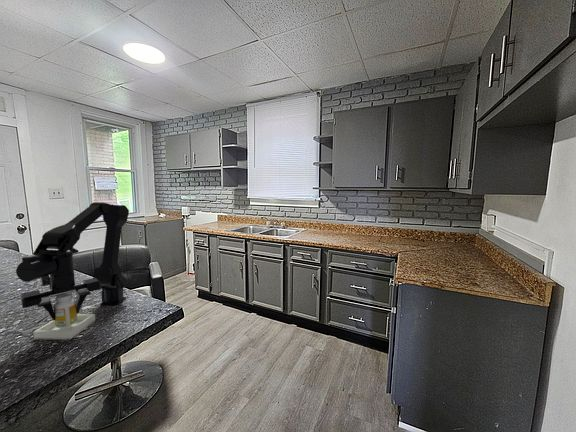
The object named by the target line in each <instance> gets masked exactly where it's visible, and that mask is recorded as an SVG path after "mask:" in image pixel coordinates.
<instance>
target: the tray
mask: <svg viewBox="0 0 576 432" xmlns="http://www.w3.org/2000/svg"><path fill="white" fill-rule="evenodd" d="M95 322H96V314H95V313H78V314H77V322H76V323H75V324H73V325H71V326H68V327H65V328H57V327H56V326H55V320H54V321H53V320H51V321H49V322H48V323H46V324H44V325H42V326H41V327H38V329H36V330H34V331H33V339H34V340H71V339H74V337H75V336H77V335H78V334H79V333H81V332H82V331H84V330H85V329H86V328H89V326H91V325H92V324H93V323H95Z"/></svg>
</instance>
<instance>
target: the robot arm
mask: <svg viewBox="0 0 576 432" xmlns="http://www.w3.org/2000/svg"><path fill="white" fill-rule="evenodd" d="M129 214H130V210H129V208H128V207H127V206H126V205H124V204H111V203H107V202H98V201H94V202H92V203H90V204H89V205H88V207H86V208H85V209H84V210H83V211H81V212H80V213H79V214H77V215H76V216H74V217H73V218H72V219H71V220H70V221H68V222H67V223H65V224H62V225H59V226H56V227H55V226H54V227H53V228H51V229H50V230H48V231H46V232H45V233H43V234H42V236H41V238H42V239H40V242H39V243H38V245H37V247H36V248H35V250H34V251H33V253H32V254H33V255H31V256H25V257H22V258H21V261H22V262H20V263H19V264H18V265H17V267H16V269H15V274H16V276H17V277H18V278H19V279H20V280H21V281H22V282H25V283H29V282H32V281H36V280H38V279H40V280H41V287H46V286H49V291H44V292H40V290H39V289H38V290H33V291H28V292H24V293H22V294H21V295H20V304H21V306H22V308H23V309H26V308H31V307H34V306H35V307H36V306H37V307H38V308H40V307H43V309H45V310H46V311H47V313H48V314H49V316H50V317H51V319H52V321H54V320H55V314H54V307H53V304H52V301H51V299H50V298H53V297H54V298H55V297H56V296H58V295H62V294H66V293H74V292H75V296H76V297H75V301H76V311H77V314H80V310H81V308H82V306H83V303H84V301H85V300H86V297H88V295H91V292H94V291H100V290H101V291H100V292H101V294H100V295H101V302H100V303H99V305H100V306H117V305H119V304H120V303H121V302H123V301H124V300H125V299H126V298H127V296H124V289H125V287H126V286H127V285H128V279H127V278H125V277H124V276H123V275H122V268H121V267H120V265H119V262H118V261H119V255H120V254H119V253H120V244H121V236H122V235H121V234H122V228H123V227H124V225H125V224H126V223H127V221H128V218H129ZM101 216H102V220H103V222H104V223H105V224H104V225H106V228H105V238H104V247H103V254H102V262H101V264H100V265H99V266H97V267H95V268H94V272H93V274H94V275H93V278H92V277H91V278H89V279H88V278H87V279H83V281H82V283H80V284H76V281H75V280H76V279H75V268H74V258H73V257H74V256H73V254H77V253H79V250H78V249H77V248H75V247H74V246H75V245H76V244H77V243H78V242H79V240H80V238H81V235H82V233H83V232H84V231H85V230H86V229H87V228H89V227H90V226H91V225H92V224H94V222H96V221H97V220H98V219H99V218H100V217H101Z"/></svg>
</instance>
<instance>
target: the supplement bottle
mask: <svg viewBox="0 0 576 432" xmlns="http://www.w3.org/2000/svg"><path fill="white" fill-rule="evenodd" d="M52 307H53V311H54V314H55V326H56V327H57V328H65V327H68V326H71V325H73V324H75V323H76V322H77V311H76V299H74V298H73V292H71V293H66V294H62V295H58V296H55V302H54V304H53V305H52Z"/></svg>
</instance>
